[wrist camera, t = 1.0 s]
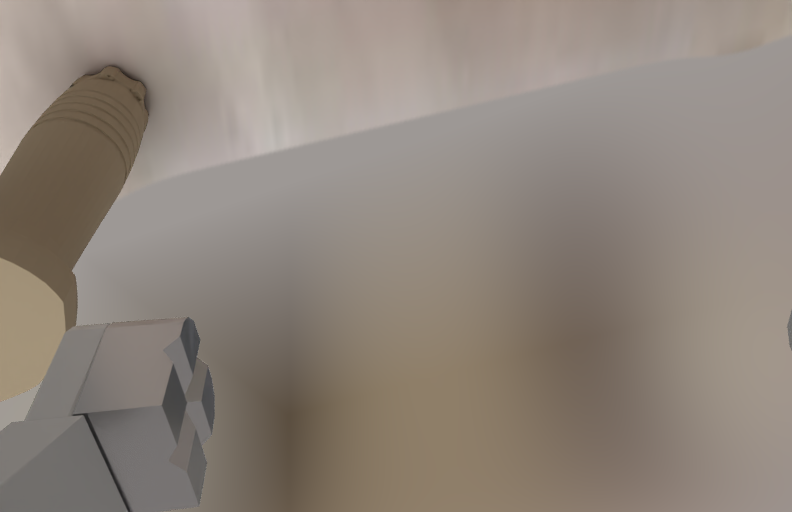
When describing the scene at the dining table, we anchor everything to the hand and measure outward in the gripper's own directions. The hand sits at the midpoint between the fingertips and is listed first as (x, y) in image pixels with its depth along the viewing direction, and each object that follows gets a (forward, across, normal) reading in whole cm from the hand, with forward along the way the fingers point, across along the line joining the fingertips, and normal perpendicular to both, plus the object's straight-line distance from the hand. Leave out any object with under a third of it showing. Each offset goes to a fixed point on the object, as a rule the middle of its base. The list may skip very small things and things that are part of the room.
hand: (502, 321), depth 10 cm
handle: (+24, +13, +6) cm, 28 cm away
